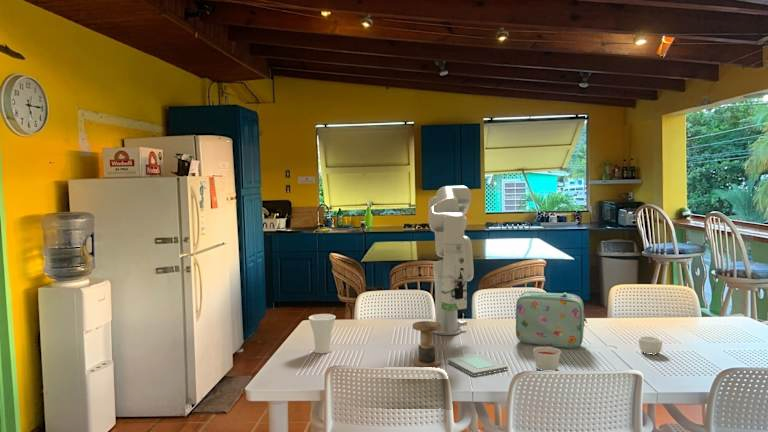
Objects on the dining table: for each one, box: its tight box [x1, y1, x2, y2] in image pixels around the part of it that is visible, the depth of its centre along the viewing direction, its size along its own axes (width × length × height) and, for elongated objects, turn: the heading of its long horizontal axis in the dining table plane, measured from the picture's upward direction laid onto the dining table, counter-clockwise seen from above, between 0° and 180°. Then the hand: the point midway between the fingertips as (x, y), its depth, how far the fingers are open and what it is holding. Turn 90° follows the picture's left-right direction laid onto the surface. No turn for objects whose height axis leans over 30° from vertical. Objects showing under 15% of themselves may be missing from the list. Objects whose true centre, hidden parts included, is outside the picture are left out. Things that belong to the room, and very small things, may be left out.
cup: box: [308, 313, 336, 354], centre depth 207 cm, size 10×10×14 cm
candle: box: [533, 346, 562, 371], centre depth 184 cm, size 9×9×6 cm
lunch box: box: [515, 290, 588, 349], centre depth 211 cm, size 27×10×21 cm, turn 65°
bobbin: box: [412, 320, 442, 368], centre depth 191 cm, size 10×10×14 cm
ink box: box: [442, 277, 468, 311], centre depth 195 cm, size 9×5×12 cm, turn 123°
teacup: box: [638, 335, 663, 354], centre depth 200 cm, size 10×8×5 cm
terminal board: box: [447, 353, 508, 377], centre depth 187 cm, size 14×16×1 cm
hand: (454, 296), depth 195 cm, fingers closed on ink box, 5 cm apart
